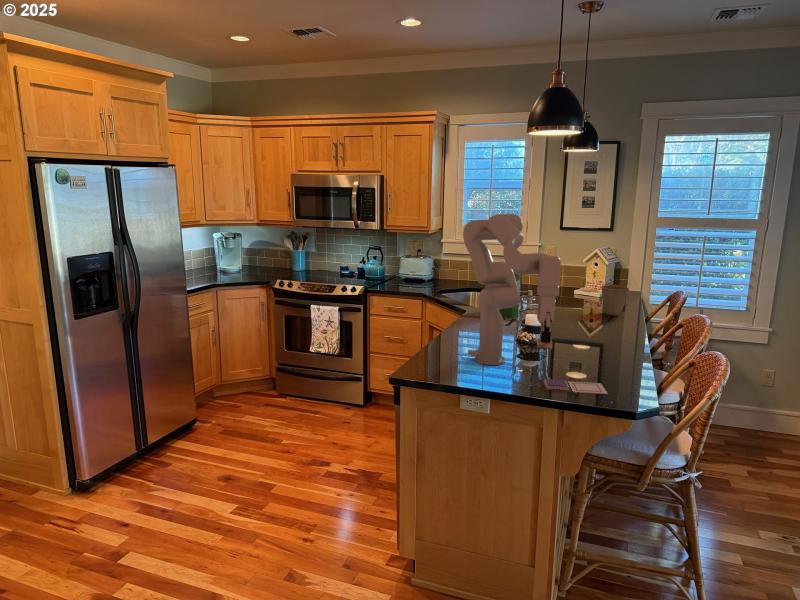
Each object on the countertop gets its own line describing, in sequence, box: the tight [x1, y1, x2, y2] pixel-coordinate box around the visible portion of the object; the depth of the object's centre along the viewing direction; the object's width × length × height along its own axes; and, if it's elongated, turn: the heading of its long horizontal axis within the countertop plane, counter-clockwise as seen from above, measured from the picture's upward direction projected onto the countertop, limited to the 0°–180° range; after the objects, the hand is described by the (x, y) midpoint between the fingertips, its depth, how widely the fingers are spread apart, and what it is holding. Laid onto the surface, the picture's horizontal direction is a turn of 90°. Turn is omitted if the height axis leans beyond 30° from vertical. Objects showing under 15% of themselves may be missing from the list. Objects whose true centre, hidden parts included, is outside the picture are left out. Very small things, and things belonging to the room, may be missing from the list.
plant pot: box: [601, 284, 630, 316], centre depth 306 cm, size 15×15×16 cm
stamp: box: [536, 321, 553, 350], centre depth 190 cm, size 5×4×12 cm
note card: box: [567, 381, 608, 395], centre depth 192 cm, size 12×10×1 cm
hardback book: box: [484, 273, 521, 319], centre depth 300 cm, size 18×7×24 cm, turn 52°
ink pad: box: [543, 378, 570, 391], centre depth 193 cm, size 8×7×2 cm
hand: (544, 340), depth 190 cm, fingers closed on stamp, 3 cm apart
